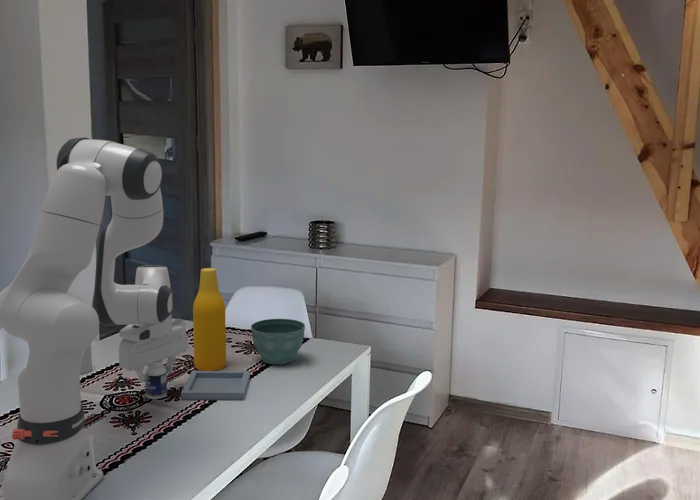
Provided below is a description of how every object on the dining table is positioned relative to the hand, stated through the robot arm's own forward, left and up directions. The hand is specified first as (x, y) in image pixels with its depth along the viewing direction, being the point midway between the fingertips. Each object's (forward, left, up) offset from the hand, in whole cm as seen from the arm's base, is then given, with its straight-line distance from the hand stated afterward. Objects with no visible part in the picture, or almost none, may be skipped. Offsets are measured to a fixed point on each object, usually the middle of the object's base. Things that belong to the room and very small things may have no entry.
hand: (155, 376), depth 185 cm
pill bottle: (0, 0, -5) cm, 5 cm away
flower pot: (+28, -30, -5) cm, 41 cm away
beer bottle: (+22, -11, -5) cm, 25 cm away
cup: (+18, +27, -5) cm, 33 cm away
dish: (+5, -15, -5) cm, 17 cm away
